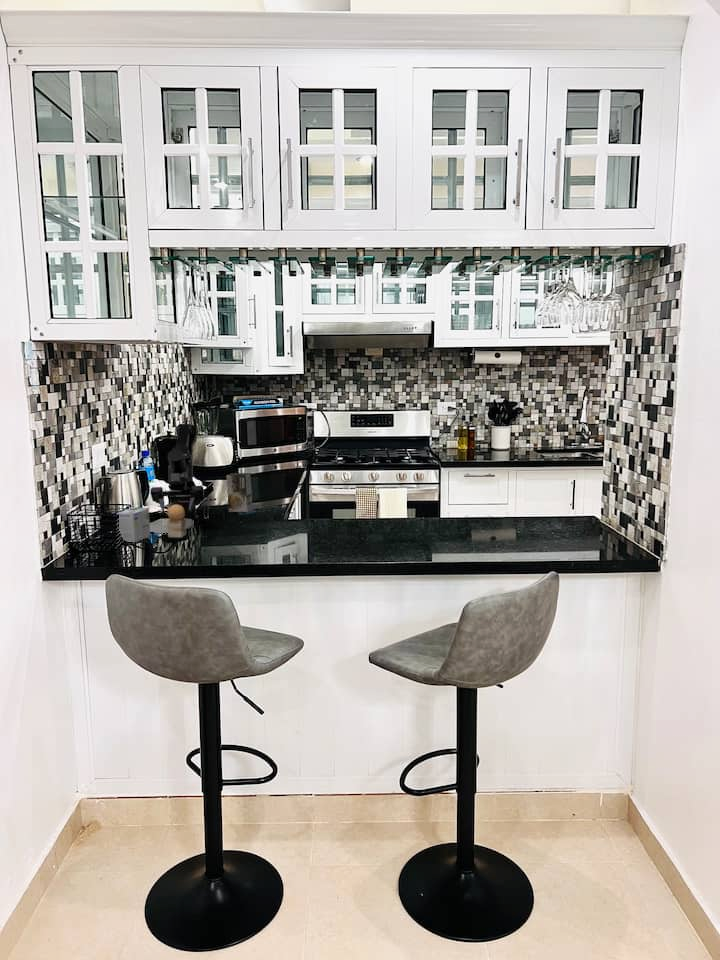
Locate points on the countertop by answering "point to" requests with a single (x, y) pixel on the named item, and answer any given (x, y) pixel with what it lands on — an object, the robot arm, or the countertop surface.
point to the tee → (177, 528)
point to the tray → (165, 525)
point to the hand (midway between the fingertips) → (176, 512)
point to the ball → (176, 512)
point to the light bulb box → (134, 524)
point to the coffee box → (239, 492)
